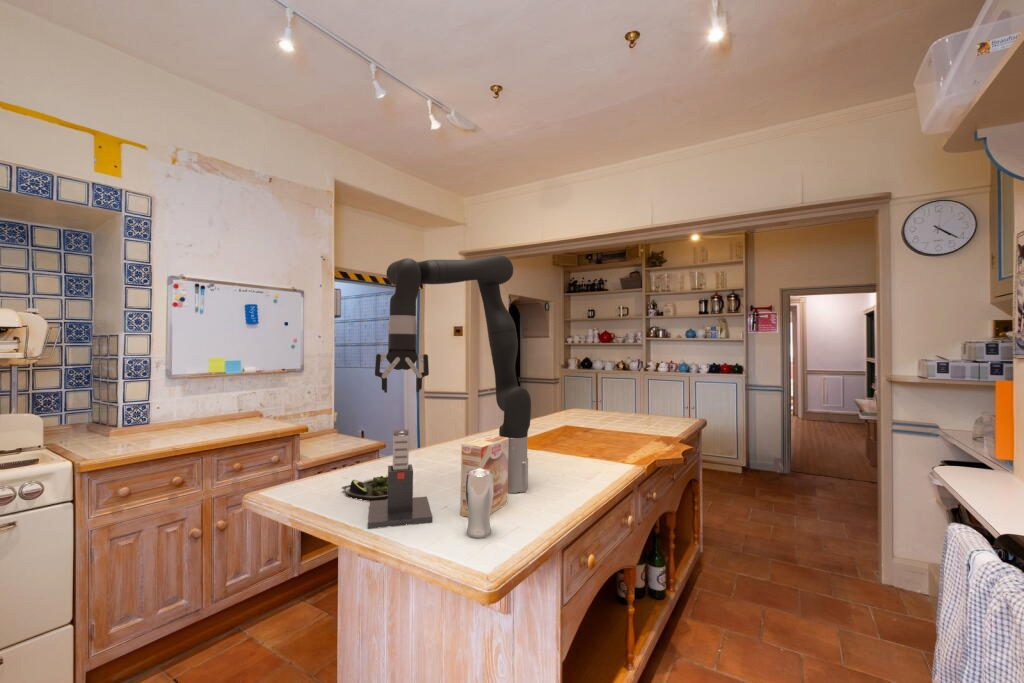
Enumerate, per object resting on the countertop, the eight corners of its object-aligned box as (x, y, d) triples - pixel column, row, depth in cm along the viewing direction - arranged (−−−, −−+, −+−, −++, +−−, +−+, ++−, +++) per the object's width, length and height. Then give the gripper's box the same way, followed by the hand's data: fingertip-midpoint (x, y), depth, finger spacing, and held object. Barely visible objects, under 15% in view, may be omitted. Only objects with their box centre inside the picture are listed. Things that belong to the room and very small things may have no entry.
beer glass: (464, 527, 113) (465, 468, 113) (492, 527, 113) (493, 468, 114) (464, 539, 106) (465, 476, 106) (493, 539, 107) (494, 476, 107)
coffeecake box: (480, 520, 118) (481, 446, 118) (458, 515, 121) (460, 443, 121) (508, 503, 131) (509, 437, 131) (488, 499, 134) (489, 434, 134)
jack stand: (426, 501, 131) (427, 459, 131) (432, 522, 116) (433, 474, 116) (369, 506, 127) (370, 462, 127) (367, 528, 111) (368, 478, 112)
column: (407, 504, 124) (408, 429, 124) (407, 510, 120) (409, 431, 120) (391, 505, 123) (393, 429, 123) (392, 511, 119) (393, 432, 119)
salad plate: (376, 479, 154) (376, 465, 154) (419, 486, 147) (419, 472, 147) (333, 496, 136) (334, 481, 136) (380, 505, 129) (380, 489, 129)
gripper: (427, 333, 127) (426, 390, 127) (375, 332, 123) (374, 391, 123) (430, 333, 120) (429, 393, 120) (375, 331, 116) (374, 393, 116)
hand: (401, 392), depth 122 cm, fingers open, 8 cm apart
